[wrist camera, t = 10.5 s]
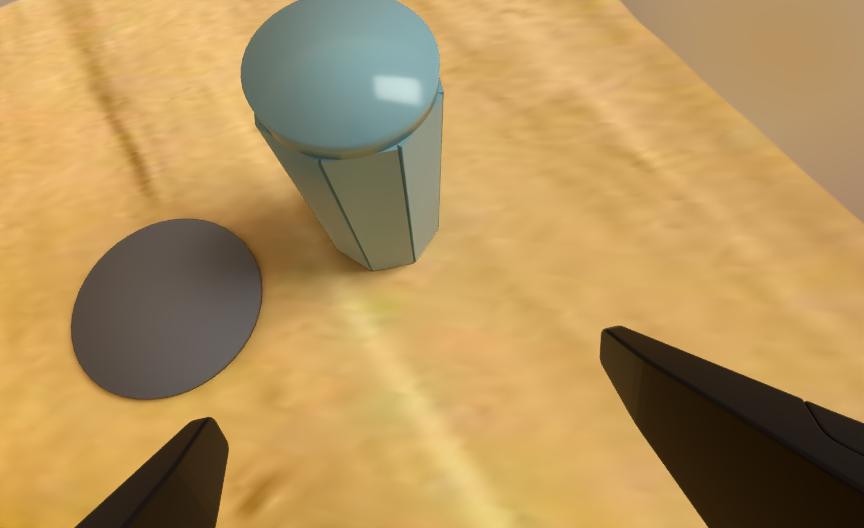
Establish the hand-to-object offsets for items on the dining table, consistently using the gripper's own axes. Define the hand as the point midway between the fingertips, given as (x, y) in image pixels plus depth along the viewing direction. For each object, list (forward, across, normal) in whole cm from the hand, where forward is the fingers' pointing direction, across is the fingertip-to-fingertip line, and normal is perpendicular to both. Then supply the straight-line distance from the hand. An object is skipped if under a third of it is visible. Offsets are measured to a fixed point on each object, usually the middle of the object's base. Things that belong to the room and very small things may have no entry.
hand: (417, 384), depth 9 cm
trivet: (+15, +14, +4) cm, 21 cm away
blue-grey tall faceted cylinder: (+17, 0, +2) cm, 18 cm away
